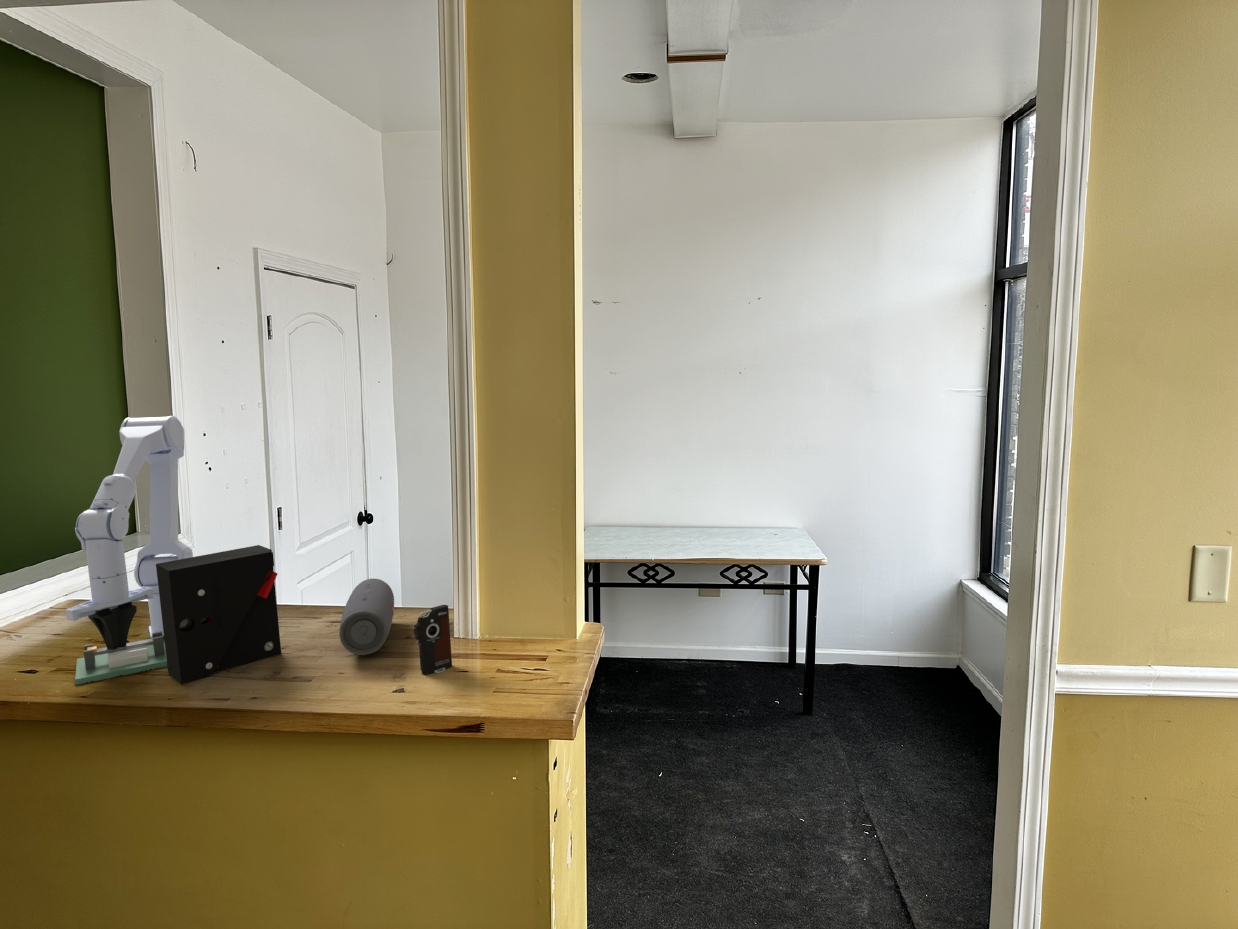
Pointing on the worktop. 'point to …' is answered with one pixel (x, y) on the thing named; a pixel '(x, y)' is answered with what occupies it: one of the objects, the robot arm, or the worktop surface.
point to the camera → (434, 640)
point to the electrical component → (218, 611)
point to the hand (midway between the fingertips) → (116, 647)
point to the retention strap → (120, 648)
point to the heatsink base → (121, 661)
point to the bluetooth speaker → (367, 617)
